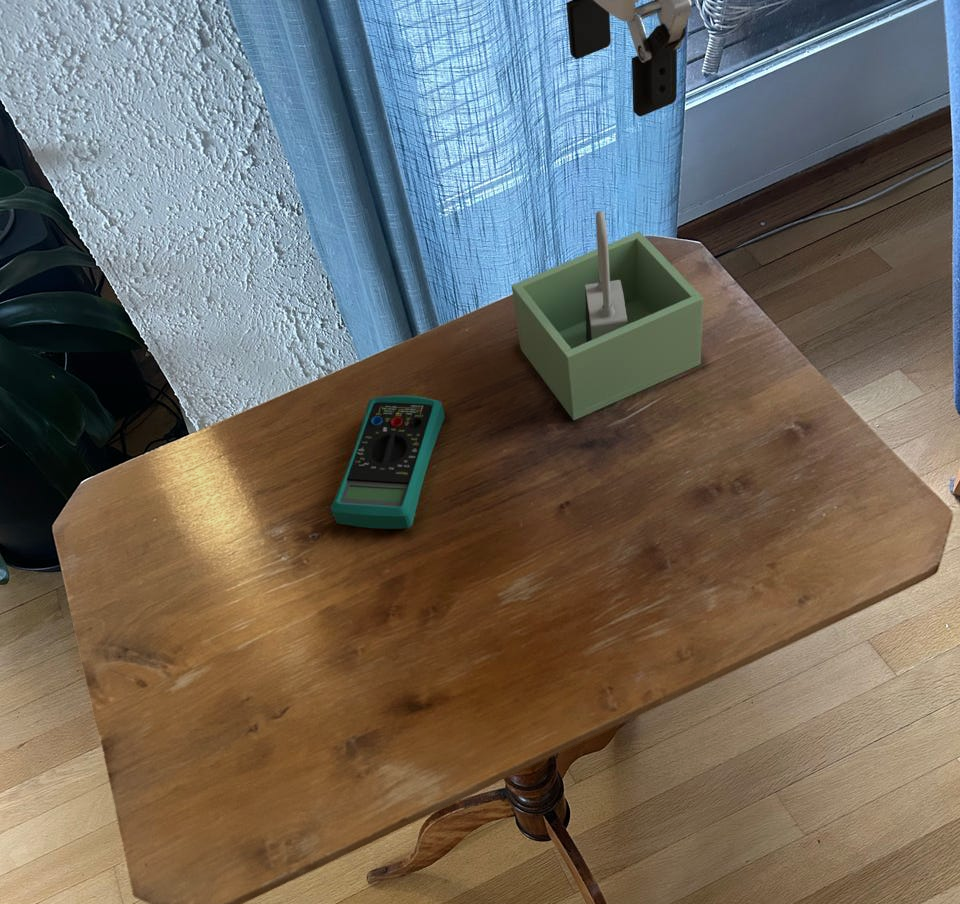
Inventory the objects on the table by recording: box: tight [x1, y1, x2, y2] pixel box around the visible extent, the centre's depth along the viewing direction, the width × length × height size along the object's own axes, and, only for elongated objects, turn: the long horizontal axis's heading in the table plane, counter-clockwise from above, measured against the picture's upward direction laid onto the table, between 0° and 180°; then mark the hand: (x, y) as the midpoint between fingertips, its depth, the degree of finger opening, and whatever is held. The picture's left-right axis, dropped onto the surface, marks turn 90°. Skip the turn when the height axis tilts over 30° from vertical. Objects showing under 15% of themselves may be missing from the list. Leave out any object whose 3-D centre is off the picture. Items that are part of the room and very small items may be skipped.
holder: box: [511, 231, 704, 421], centre depth 97 cm, size 12×14×8 cm
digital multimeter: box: [330, 394, 446, 530], centre depth 95 cm, size 7×15×3 cm, turn 168°
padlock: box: [585, 210, 627, 342], centre depth 93 cm, size 7×4×15 cm, turn 2°
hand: (621, 78), depth 75 cm, fingers open, 9 cm apart
